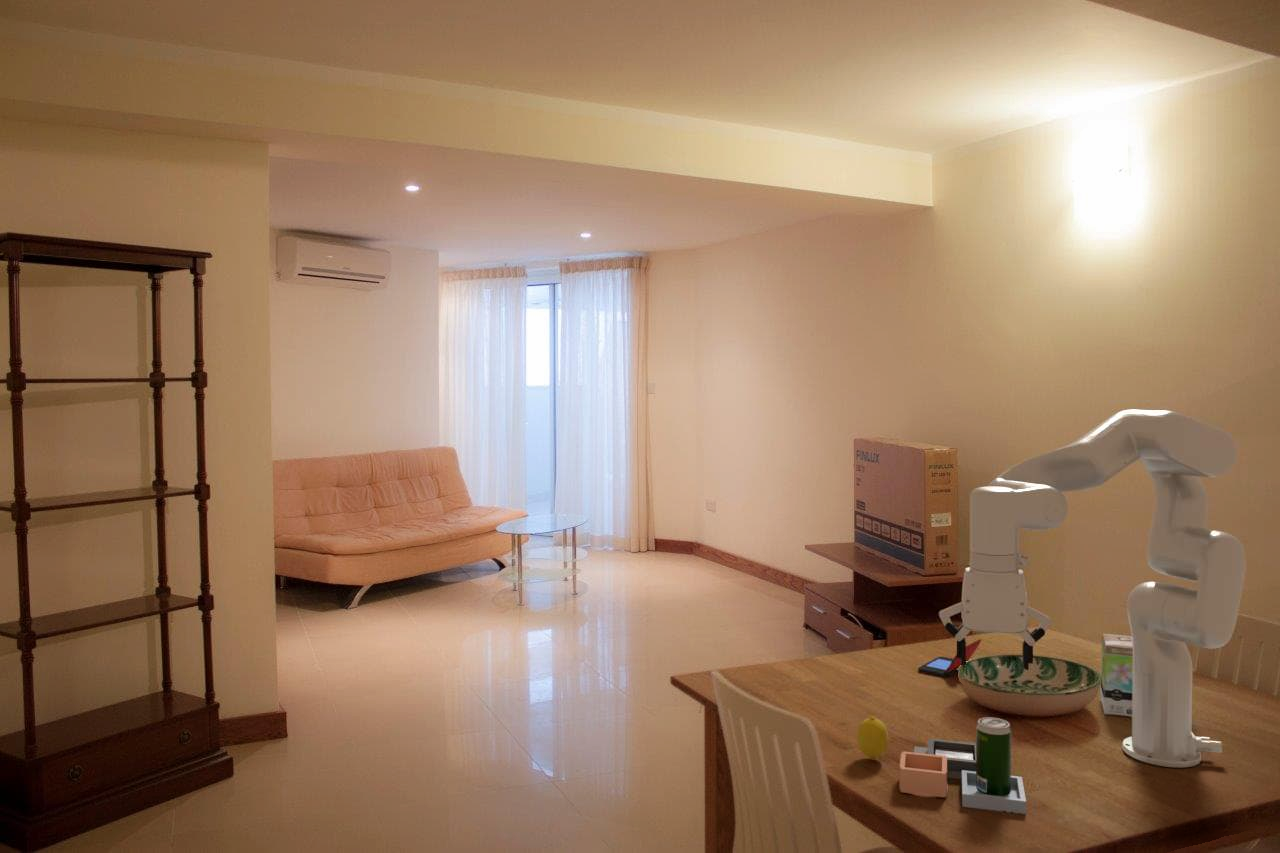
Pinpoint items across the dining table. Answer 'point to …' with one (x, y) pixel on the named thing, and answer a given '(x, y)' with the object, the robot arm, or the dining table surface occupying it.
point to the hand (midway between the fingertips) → (994, 665)
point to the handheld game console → (947, 663)
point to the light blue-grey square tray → (990, 802)
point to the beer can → (993, 757)
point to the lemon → (872, 738)
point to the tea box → (1116, 674)
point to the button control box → (953, 764)
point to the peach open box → (923, 774)
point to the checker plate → (954, 753)
